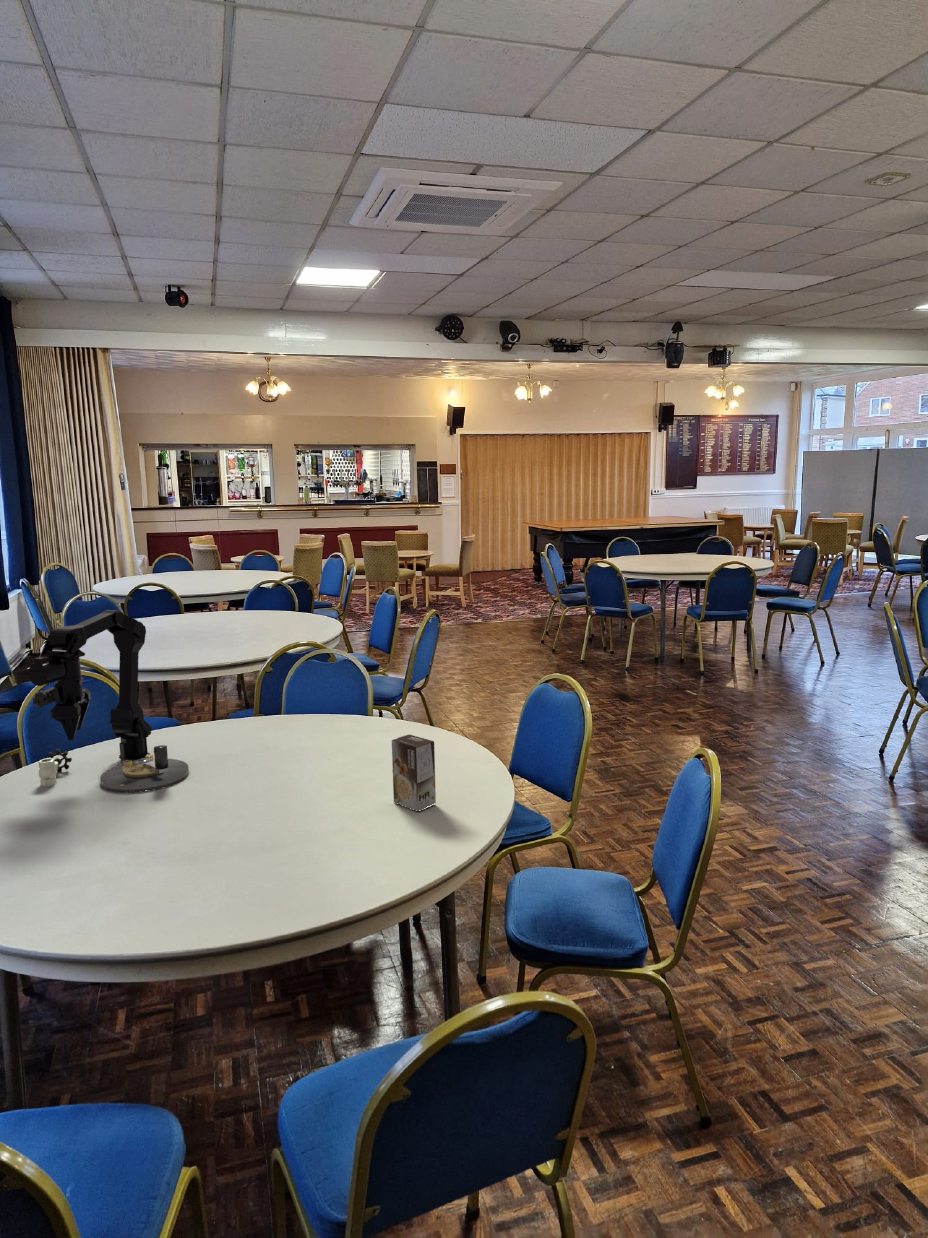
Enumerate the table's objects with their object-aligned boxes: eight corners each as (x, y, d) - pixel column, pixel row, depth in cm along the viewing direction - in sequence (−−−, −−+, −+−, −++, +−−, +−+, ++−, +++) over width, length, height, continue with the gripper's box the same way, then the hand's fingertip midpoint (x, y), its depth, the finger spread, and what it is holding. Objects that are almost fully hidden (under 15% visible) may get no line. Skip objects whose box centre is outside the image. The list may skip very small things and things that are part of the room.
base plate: (162, 758, 226) (161, 752, 225) (204, 774, 212) (204, 768, 211) (85, 779, 209) (84, 773, 209) (126, 799, 195) (125, 792, 195)
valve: (59, 786, 205) (73, 770, 217) (57, 762, 204) (71, 747, 216) (32, 788, 204) (47, 772, 215) (30, 763, 203) (45, 749, 214)
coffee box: (437, 805, 189) (436, 741, 186) (418, 813, 184) (416, 747, 182) (411, 795, 195) (409, 733, 192) (392, 803, 190) (390, 739, 188)
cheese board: (153, 761, 218) (151, 732, 216) (185, 773, 207) (183, 743, 206) (115, 771, 209) (112, 741, 208) (145, 785, 199) (143, 753, 198)
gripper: (42, 671, 208) (48, 727, 210) (24, 687, 190) (31, 749, 193) (88, 667, 211) (93, 723, 213) (74, 684, 193) (80, 744, 196)
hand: (74, 735), depth 204 cm, fingers open, 9 cm apart
